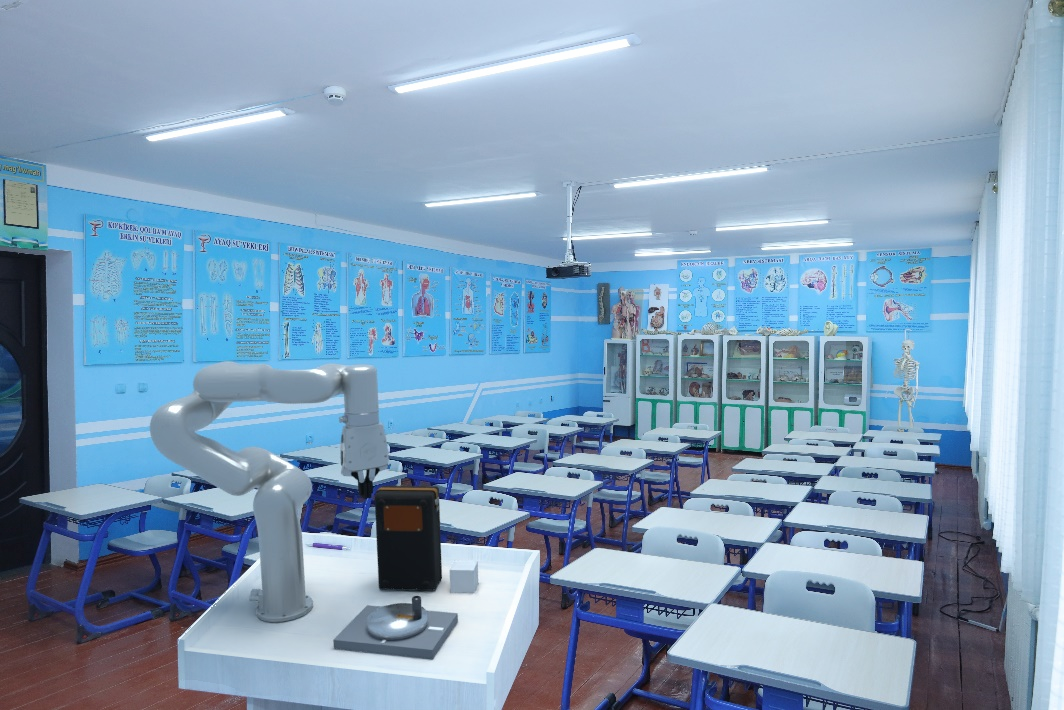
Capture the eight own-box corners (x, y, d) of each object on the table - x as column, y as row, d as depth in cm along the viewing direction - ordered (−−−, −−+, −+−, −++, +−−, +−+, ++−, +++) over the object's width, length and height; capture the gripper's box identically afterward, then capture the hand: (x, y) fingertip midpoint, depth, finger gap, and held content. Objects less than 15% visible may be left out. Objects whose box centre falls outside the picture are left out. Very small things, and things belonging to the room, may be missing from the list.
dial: (357, 638, 149) (355, 609, 148) (379, 609, 162) (378, 582, 161) (417, 641, 147) (416, 612, 146) (434, 612, 160) (433, 585, 159)
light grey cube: (455, 583, 181) (454, 560, 180) (478, 583, 180) (477, 560, 179) (450, 593, 175) (449, 569, 174) (474, 593, 174) (473, 570, 173)
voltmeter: (444, 578, 183) (441, 484, 180) (436, 593, 174) (433, 494, 172) (385, 577, 185) (381, 483, 182) (374, 592, 176) (370, 494, 173)
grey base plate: (333, 648, 149) (333, 638, 149) (367, 613, 165) (367, 603, 165) (432, 659, 145) (432, 648, 144) (457, 621, 160) (457, 611, 160)
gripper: (334, 426, 155) (338, 507, 157) (399, 417, 163) (402, 495, 165) (324, 420, 161) (328, 499, 163) (387, 412, 169) (390, 487, 171)
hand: (365, 497), depth 164 cm, fingers closed
